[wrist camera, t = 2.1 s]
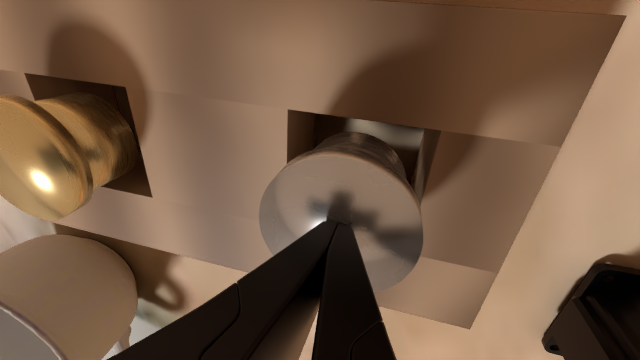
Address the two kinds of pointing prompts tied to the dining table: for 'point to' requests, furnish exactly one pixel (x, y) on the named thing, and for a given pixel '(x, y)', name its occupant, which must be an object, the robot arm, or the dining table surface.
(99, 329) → the teacup
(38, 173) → the brass plug
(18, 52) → the walnut block
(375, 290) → the grey plug
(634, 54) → the dining table surface
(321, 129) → the dining table surface
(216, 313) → the robot arm
